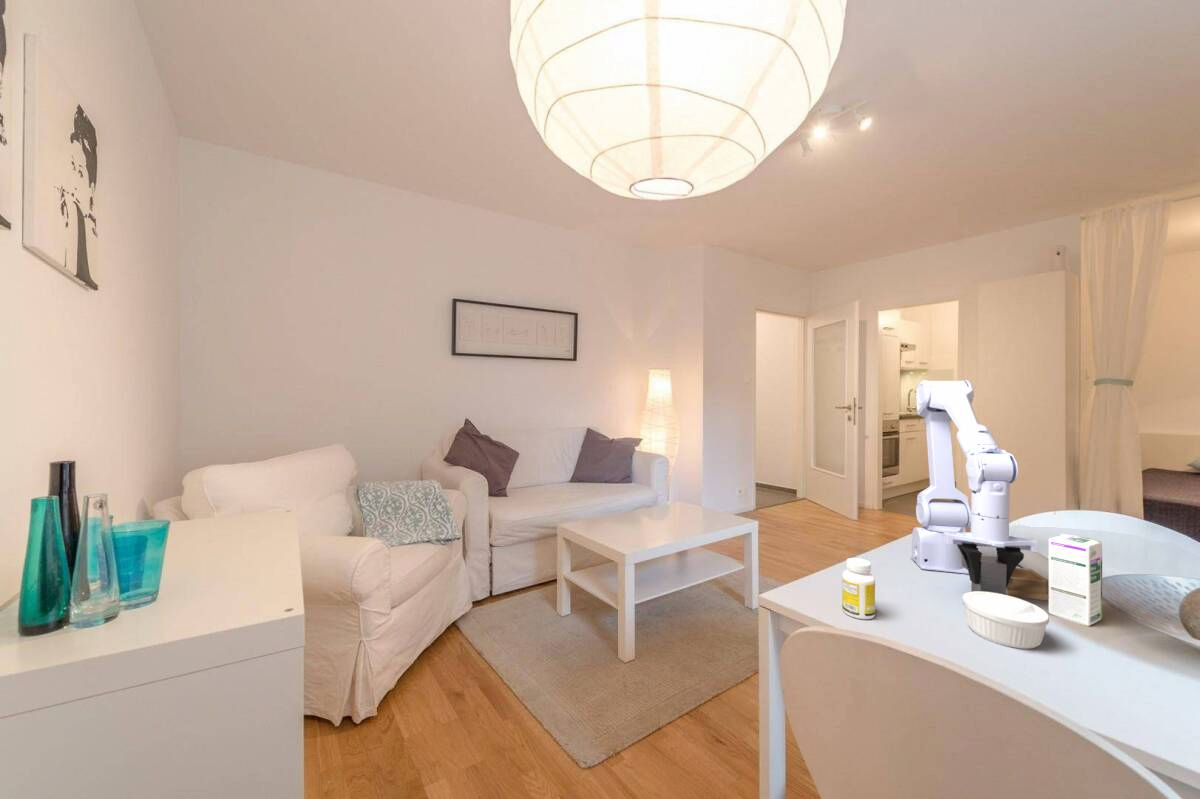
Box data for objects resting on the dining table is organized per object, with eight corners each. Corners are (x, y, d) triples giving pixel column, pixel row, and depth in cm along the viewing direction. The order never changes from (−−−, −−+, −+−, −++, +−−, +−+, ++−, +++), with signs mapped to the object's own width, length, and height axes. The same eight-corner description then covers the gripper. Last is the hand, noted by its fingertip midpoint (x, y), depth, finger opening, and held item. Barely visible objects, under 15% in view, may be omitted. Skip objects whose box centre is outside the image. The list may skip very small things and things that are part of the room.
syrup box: (1090, 627, 83) (1092, 546, 83) (1046, 613, 88) (1048, 536, 88) (1102, 620, 86) (1104, 541, 85) (1059, 606, 91) (1061, 532, 91)
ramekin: (1057, 661, 73) (1057, 627, 73) (966, 641, 79) (966, 609, 79) (1038, 630, 82) (1039, 600, 82) (958, 613, 88) (959, 586, 88)
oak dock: (1007, 596, 96) (1007, 577, 96) (990, 582, 102) (990, 565, 102) (1051, 600, 94) (1051, 582, 93) (1030, 586, 100) (1031, 569, 100)
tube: (1101, 583, 93) (1025, 542, 117) (1070, 572, 94) (1001, 533, 118) (1090, 607, 94) (1016, 561, 118) (1059, 596, 95) (992, 553, 119)
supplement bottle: (871, 609, 90) (872, 558, 90) (878, 622, 85) (878, 568, 85) (840, 604, 92) (840, 555, 92) (844, 617, 87) (845, 565, 86)
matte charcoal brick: (980, 602, 91) (981, 561, 91) (971, 594, 95) (972, 554, 94) (1005, 605, 90) (1006, 564, 89) (995, 596, 93) (996, 557, 93)
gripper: (954, 516, 90) (952, 586, 91) (1048, 523, 86) (1046, 597, 86) (940, 507, 97) (938, 573, 97) (1026, 513, 92) (1025, 582, 93)
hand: (988, 583), depth 92 cm, fingers closed on matte charcoal brick, 4 cm apart
